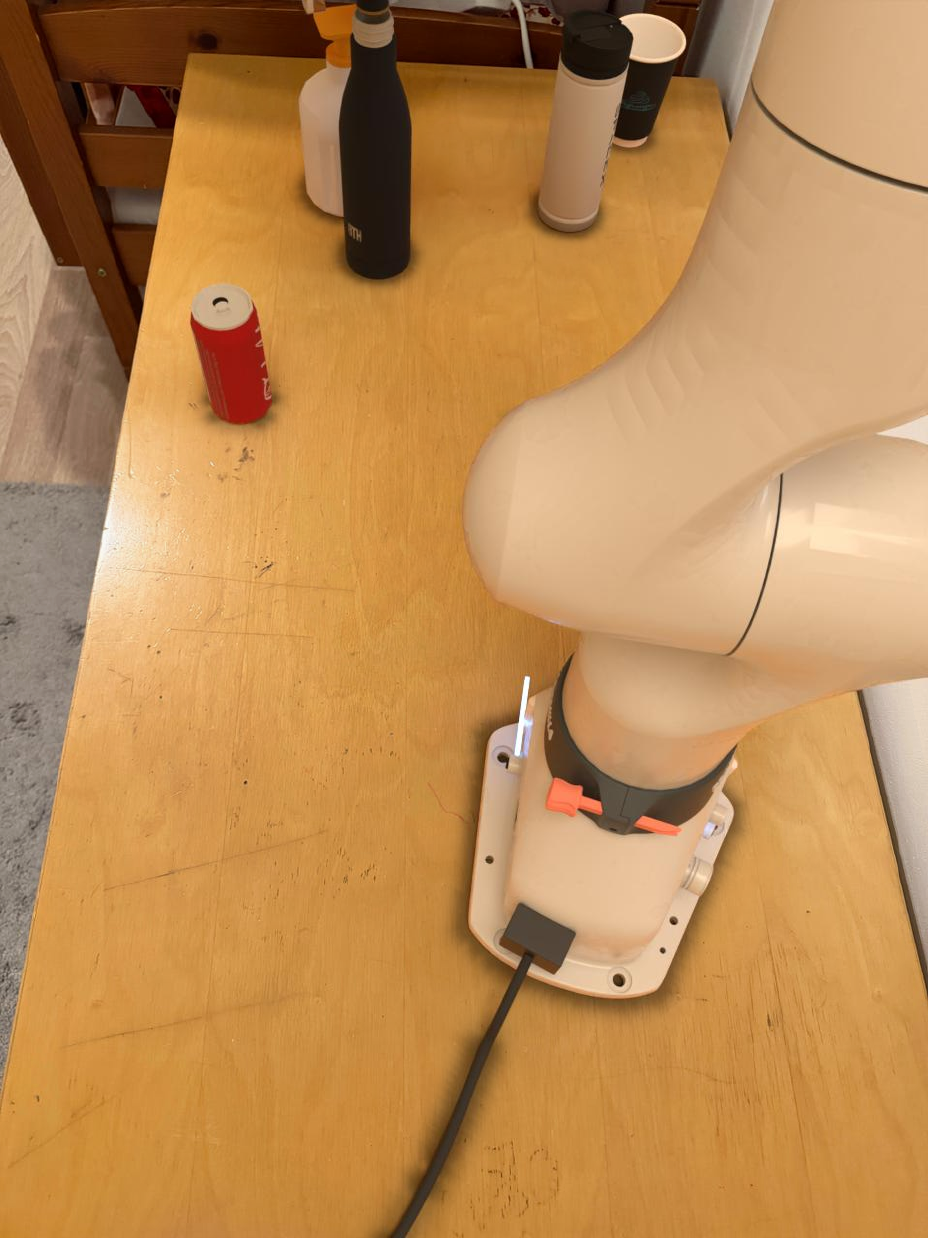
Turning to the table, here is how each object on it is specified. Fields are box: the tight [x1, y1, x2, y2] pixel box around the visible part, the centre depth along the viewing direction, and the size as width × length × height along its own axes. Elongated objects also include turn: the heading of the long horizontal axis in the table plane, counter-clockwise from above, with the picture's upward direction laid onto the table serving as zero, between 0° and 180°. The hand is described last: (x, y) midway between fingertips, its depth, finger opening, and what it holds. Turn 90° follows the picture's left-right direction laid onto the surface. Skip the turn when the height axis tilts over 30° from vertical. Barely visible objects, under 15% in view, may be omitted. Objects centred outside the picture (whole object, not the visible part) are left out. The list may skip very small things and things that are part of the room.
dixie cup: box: [612, 13, 687, 148], centre depth 107 cm, size 8×8×11 cm
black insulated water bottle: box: [339, 0, 413, 280], centre depth 87 cm, size 6×6×30 cm
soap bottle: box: [298, 3, 356, 218], centre depth 94 cm, size 9×9×25 cm
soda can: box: [189, 282, 273, 424], centre depth 86 cm, size 6×6×12 cm
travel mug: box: [537, 9, 634, 233], centre depth 96 cm, size 6×7×20 cm
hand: (372, 0), depth 79 cm, fingers open, 8 cm apart
